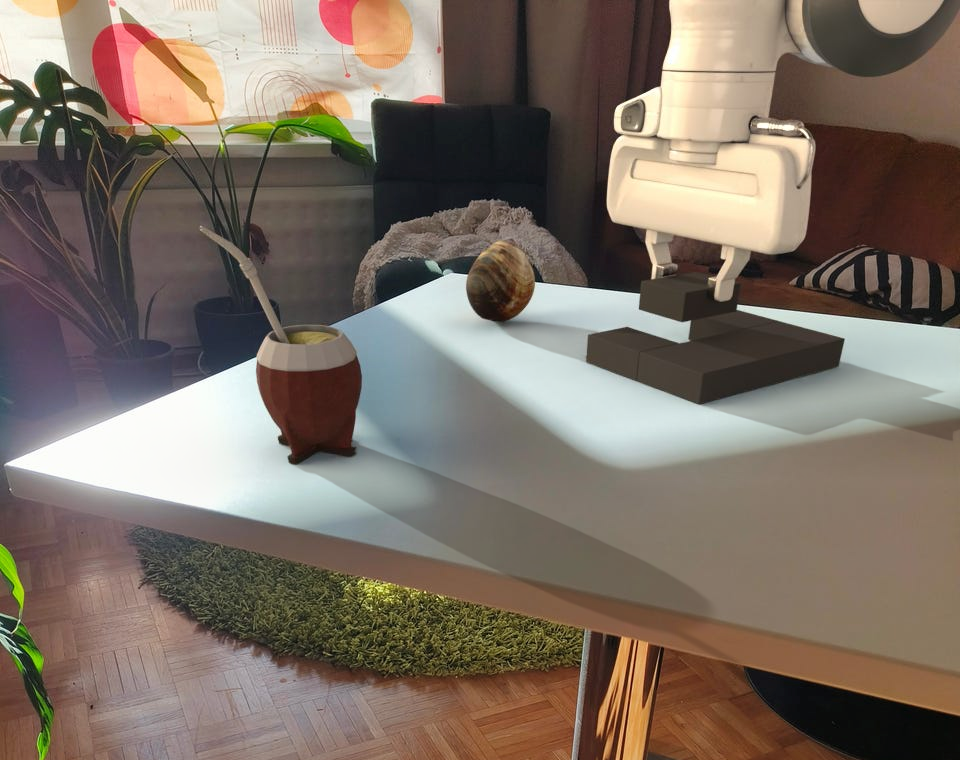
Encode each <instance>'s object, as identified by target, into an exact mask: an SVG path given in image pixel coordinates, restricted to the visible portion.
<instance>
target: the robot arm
mask: <svg viewBox="0 0 960 760" xmlns="http://www.w3.org/2000/svg"><path fill="white" fill-rule="evenodd" d="M668 7H669V8H668V9H669V14H670V25H671V26H670V27H671V28H670V33H671V34H670V40H669V44H668V47H667V52H666V54H665V57H664V60H663V63H662V71H661V80H660V86H656V87H654V88H652V89H650V90H648V91H646V92H645V93H642V94H640V95H637V96H636V97H632V98H630V99H629V100H627V101H624V102H622V103H620V104H619V105H617V106H616V108H615V111H614V115H613V129H614V131H615V132H616V133H617V134H620V136H618V137H617V138H616V140H615V141H614V143H613V147H612V150H611V154H610V159H609V167H608V177H607V190H606V208H607V212H608V215H609V217H610V220H611V222H612V223H614V224H617V225H623V226H628V227H633V228H637V229H642V230H643V229H644V230H645V231H646V232H645V246H646V249H647V252H648V256H649V259H650V262H651V264H652V269H651V277H650V280H651V279H657V278H663V277H669V276H675V275H677V273H678V268H679V264H677V263H674V262H673V261H672V255H671V251H670V247H669V243H672V242H673V241H674V236H677V237H682V238H686V239H693V240H696V241H701V242H707V243H710V244H716V245H720V246H721V252H720V259H721V260H725V261H724V263H723V265H722V266H721V268H720V270H719V272H718V273H717V275H716V276H715V277H710V278H708V285H707V286H708V290H707V297H708V298H709V299H712V300H716V301H720V302H722V301H727V300H730V299H731V297H732V294H733V288H734V282H735V281H736V279H737V278H738V276H739V275H740V274H741V272H742V270H743V269H744V268H745V267H746V265H747V264H748V262H749V261H750V259H751V253H752V252H755V253H760V254H765V255H779V254H780V255H781V254H785V253H791V252H794V251H796V249H798V247H800V245H801V244H802V243H803V241H804V240H805V238H806V235H807V230H808V222H809V215H810V207H811V194H812V193H811V192H812V170H813V166H814V160H815V154H816V140H815V139H814V137H813V135H812V133H811V132H810V131H809V129H807V128H806V127H805V124H804V122H802V121H801V120H798V119H787V120H782V119H777V118H772V117H770V111H771V110H770V109H771V104H772V97H773V92H774V84H775V78H776V71H777V66H778V61H779V60H780V59H781V57H782V56H784V55H785V54H789V55H793V56H796V57H797V58H799V59H801V60H803V61H805V62H808V63H810V64H814V65H820V66H823V67H826V68H834V69H837V70H839V71H841V72H843V73H845V74H848V75H851V76H855V77H860V78H876V77H882V76H886V75H891V74H893V73H897V72H899V71H901V70H903V69H906V68H907V67H908V66H910V65H912V64H914V63H915V62H917V61H918V60H920V59H921V58H922V57H923V56H925V55H927V53H928V52H929V51H931V50H932V49H933V47H934V46H936V44H938V42H939V41H940V40H941V38H942V37H943V36H944V35H945V33H947V31H948V30H949V29H950V27H951V25H952V24H953V22H954V20H955V18H956V17H957V15H958V13H959V11H960V0H669V1H668ZM802 135H803V136H804V137H801V136H802ZM672 262H673V263H672Z"/></svg>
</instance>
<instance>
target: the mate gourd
mask: <svg viewBox="0 0 960 760" xmlns="http://www.w3.org/2000/svg"><path fill="white" fill-rule="evenodd" d="M199 230H200V231H201V232H202V233H203V234H205V235H206V236H207V237H209V238H210V239H211V240H212V241H214V242H215V243H216V244H218V245H219V246H221V247H222V248H223V249H224V250H226V251H227V252H228V253H230V255H231V256H232V257H233V258H234V259H236V260H237V262H238V263H239V268H240V270H241V271H242V273H243V275H244V276H245V278H246V279H248V280H249V281H250V284H251V287H252V288H253V290H254V292H255V295H256V296H257V298H258V301H259V303H260V304H261V307H262V309H263V311H264V313H265V315H266V317H267V320H268V321H269V323H270V325H271V328H272V329H273V330H272V331H270V332H269V333H267V334H266V336H265V338H264V339H263V341H262V343H261V344H260V347H259V349H258V351H257V354H256V365H255V375H256V383H257V389H258V391H259V394H260V397H261V400H262V403H263V405H264V406H265V409H266V411H267V412H268V415H269V416H270V418H271V420H272V421H273V423H274V424H275V425H276V426H277V428H278V429H279V430H280V433H281V434H280V435H278V436H277V441H278V444H279V445H284V446H289V448H290V451H291V453H290V454H289V455H287V461H288V463H289V464H293V465H298V464H300V463H302V462H304V461H305V460H308V459H309V458H310V457H312V456H314V455H315V454H317V453H326V454H332V455H337V456H343V457H349V458H350V457H354V456H355V455H357V451H356V450H357V447H356V446H352V445H353V436H354V432H355V426H356V421H357V409H358V406H359V402H360V398H361V393H362V389H363V388H362V386H363V375H362V368H361V363H360V360H359V357H358V352H357V349H356V348H355V346H354V345H353V343H352V341H351V340H350V339H349V338H348V336H347V335H346V334H345V333H344V332H343V331H342V330H341V329H340V328H337V327H334V326H330V325H323V324H298V325H290V326H289V325H288V326H285V327H282V325H281V323H280V321H279V319H278V317H277V315H276V313H275V310H274V308H273V306H272V304H271V302H270V300H269V298H268V296H267V294H266V291H265V289H264V287H263V285H262V283H261V281H260V279H259V275H258V270H257V268H256V266H255V265H254V263H253V261H252V260H251V258H250V257H247V256H246V255H245V253H244V252H243V251H242V250H241V249H239V248H238V246H236V245H235V244H234V243H233V242H231V241H229V240H228V239H226V238H225V237H222V236H221V235H219V234H217V233H215V232H213V231H212V230H211V229H209V228H206V227H204V226H203V225H200V226H199Z"/></svg>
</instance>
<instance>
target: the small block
mask: <svg viewBox="0 0 960 760" xmlns="http://www.w3.org/2000/svg"><path fill="white" fill-rule="evenodd" d="M710 277H716V276H714V275H710V274H706V273H701V272H697V271H693V272H689V273H682V274H676V275H675V276H669V277H663V278H657V279H651V278H650V279H645V280H641V282H640V290H639V300H638V310H639V311H641V312H645V313H649V314H652V315H655V316H659V317H662V318H666V319H668V320H673V321H675V322H679V323H687V322H691V320H696V319H701V318H706V317H711V316H716V315H721V314H726V313H731V312H736V311H737V310H738V304H739V297H740V292H741V285H742V282H740V281H736V280H735V282H734V288H733V294H732V297H731V299H730V300H727V301H722V302H720V301H716V300H712V299H709V298H708V297H707V290H708V286H707V285H708V278H710Z"/></svg>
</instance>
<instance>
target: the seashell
mask: <svg viewBox="0 0 960 760" xmlns="http://www.w3.org/2000/svg"><path fill="white" fill-rule="evenodd" d="M466 277H467V278H466V281H465V290H466V291H465V292H466V297H467V300H468V303H469V305H470V307H471V309H472V310H473V312H474V314H476V315H477V316H478V317H479V318H481V319H483V320H487V321H491V322H493V323H506V322H508V321H510V320H513V319H514V318H516V317H517V316H519V315H520V314H521V313H522V312H523V311H524V310H525V309H526V307H527V306H528V305H529V303H530V301H531V300H532V298H533V295H534V292H535V288H536V277H535V272H534V269H533V267H532V265H531V263H530V262H529V260H528V258H527V256H526V254H525V252H524V251H523V250H522V248H521V246H520V245H519V243H517V241H516V240H515V239H514V238H513V237H511V236H507V237H504V238H501V239H499V240H498V241H496V242H494V243H493V244H491V245H490V246H488V247H487V248H486V249H485V250H484V251H482V252H481V253H480V255H479V256H478V257H477V258H476V259H475V261H474V262H473V264H472V266H471V267H470V269H469V272H468V274H467V276H466Z"/></svg>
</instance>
